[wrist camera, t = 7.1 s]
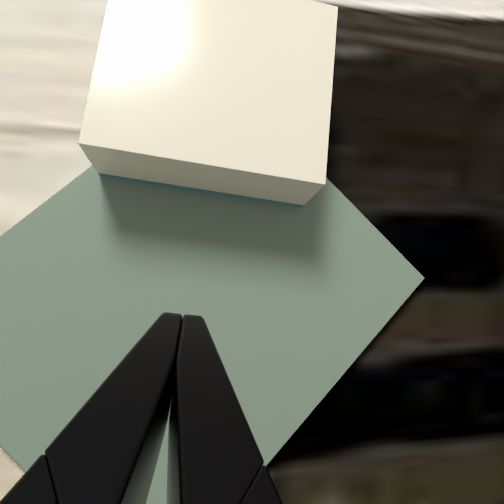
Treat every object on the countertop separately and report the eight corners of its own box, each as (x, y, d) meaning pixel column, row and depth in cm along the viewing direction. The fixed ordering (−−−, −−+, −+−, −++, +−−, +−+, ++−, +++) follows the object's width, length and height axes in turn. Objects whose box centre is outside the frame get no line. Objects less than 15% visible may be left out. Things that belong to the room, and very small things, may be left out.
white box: (325, 184, 14) (337, 6, 15) (78, 143, 12) (118, -47, 14) (301, 207, 17) (314, 56, 18) (99, 175, 15) (130, 15, 17)
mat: (419, 278, 18) (424, 278, 17) (152, 593, 13) (150, 602, 13) (218, 72, 18) (219, 67, 17) (-107, 325, 14) (-116, 325, 13)
